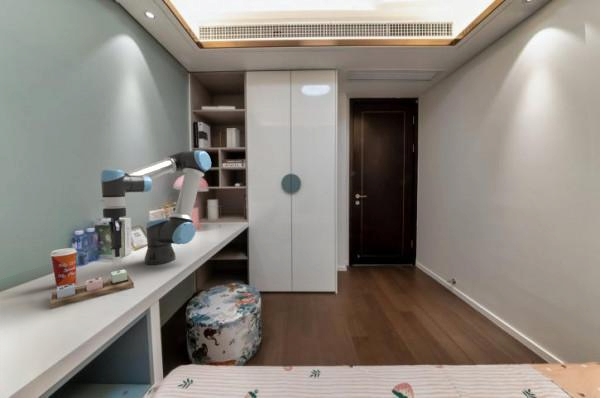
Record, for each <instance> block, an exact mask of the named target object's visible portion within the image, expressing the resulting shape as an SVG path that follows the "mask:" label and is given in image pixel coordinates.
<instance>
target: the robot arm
mask: <svg viewBox="0 0 600 398" xmlns="http://www.w3.org/2000/svg"><path fill="white" fill-rule="evenodd" d="M211 167H212V161H211V157H210V155H209V154H208V153H207V151H205V150H197V149H196V150H189V151H188V150H187V151H186V150H185V151H184V150H183V151H180V152H177V153H176V152H175V153H174V154H171V155H168V156H165V157H163V158H162V160H159V161H156V162H153V163H150V164H147V165H144V166H143V165H142V166H141V167H138V168H135V169H132V170H129V171H126V172H125V171H124V170H123V169H103V170H101V174H100V177H101V178H100V184H101V196H102V197H101V198H102V199H100V203H102V216H103V217H102V218H105V219H110V221H108V226H109V232H110V243H111V244H110V246H111V247H110V250H111V251H112V265H113V266H116V265H121V264H122V262H123V261H122V248H123V245H122V243H123V242H122V232H123V231H122V230H123V229H122V228H123V222H122V220H120V218H124V217H126V216H127V208H126V206H127V202H126V193H147V192H150V191H151V190H152V188H153V180H154V179H156V178H159V177H162V176H164V175H167V174H174V173H177V172H183V173H184V176H183V180H182V184H181V187H180V191H179V195H178V198H177V202H176V206H175V209H174V213H173V214H172V215H171V216H170V217H167V218H161V219H160V218H159V219H154V220H148V221H147V222H146V227H145V231H146V245H147V249H146V251H145V256H144V261H143V262H144V264H145V265H148V266H149V265H151V266H152V265H161V264H162V265H163V264H167V263H170V262H173V261H175V260H176V252H175V250H174V248H173V246H172V245H173V244H176V245H187V244H188V243H190V242H191V241H192V240H193V239H194V237H195V235H196V226H195V225H194V220H193V218H192V215H193V211H194V207H195V203H196V198H197V195H198V191H199V187H200V181H201V178H202V177H204V176H205V173H206V172H207V171H208V170H210V169H211Z"/></svg>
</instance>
